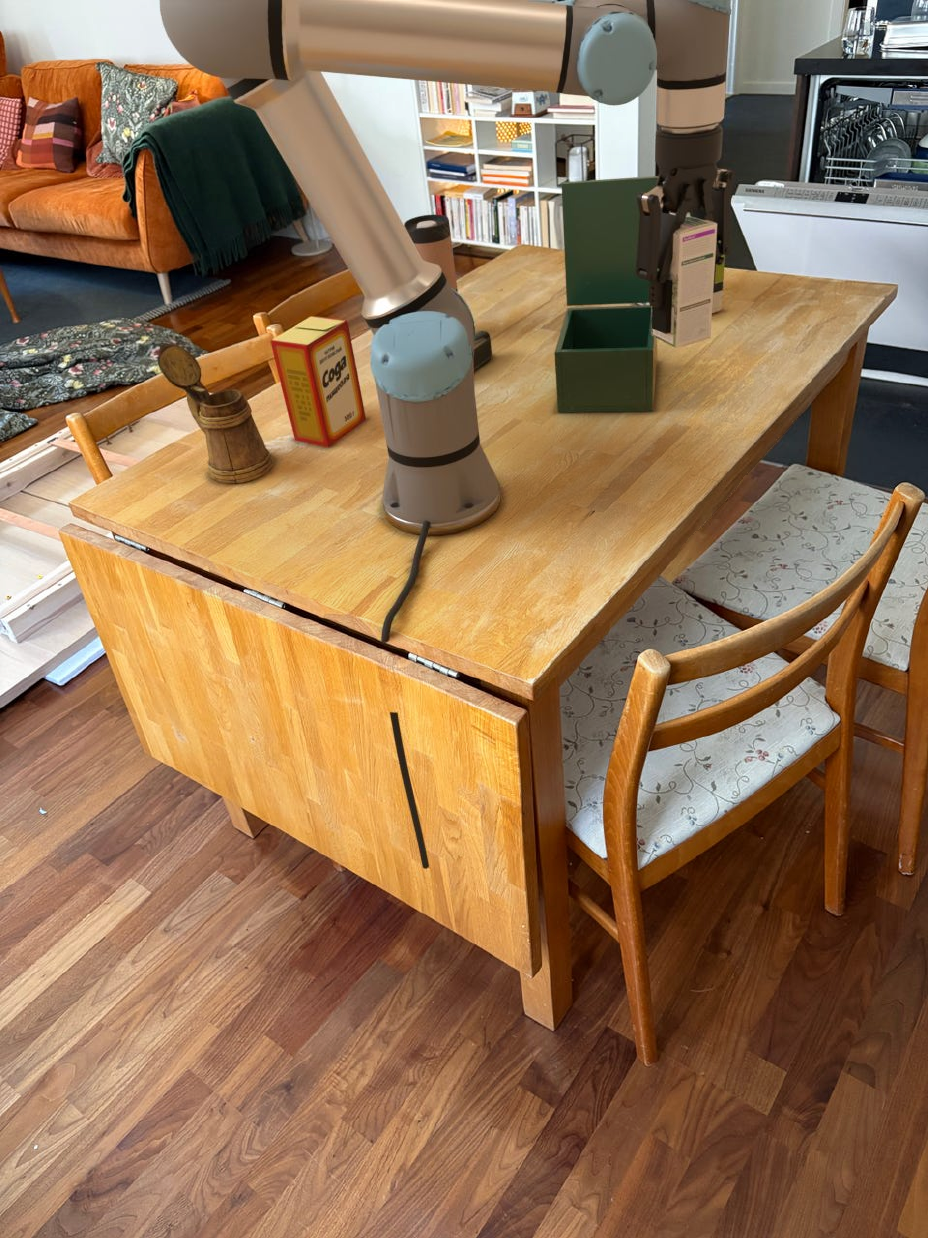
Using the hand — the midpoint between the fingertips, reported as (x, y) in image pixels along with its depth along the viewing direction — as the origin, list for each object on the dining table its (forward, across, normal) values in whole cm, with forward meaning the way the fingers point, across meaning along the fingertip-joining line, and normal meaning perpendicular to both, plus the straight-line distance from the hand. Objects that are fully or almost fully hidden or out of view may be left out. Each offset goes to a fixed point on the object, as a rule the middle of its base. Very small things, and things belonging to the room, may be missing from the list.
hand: (681, 322), depth 123 cm
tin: (+16, -3, -18) cm, 24 cm away
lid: (-3, -9, -24) cm, 26 cm away
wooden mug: (+17, +51, -38) cm, 66 cm away
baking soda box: (+17, +35, -38) cm, 54 cm away
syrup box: (+2, 0, 0) cm, 2 cm away
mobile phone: (+16, +10, -39) cm, 43 cm away
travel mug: (+16, +4, -55) cm, 57 cm away
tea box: (+16, -32, -34) cm, 50 cm away
